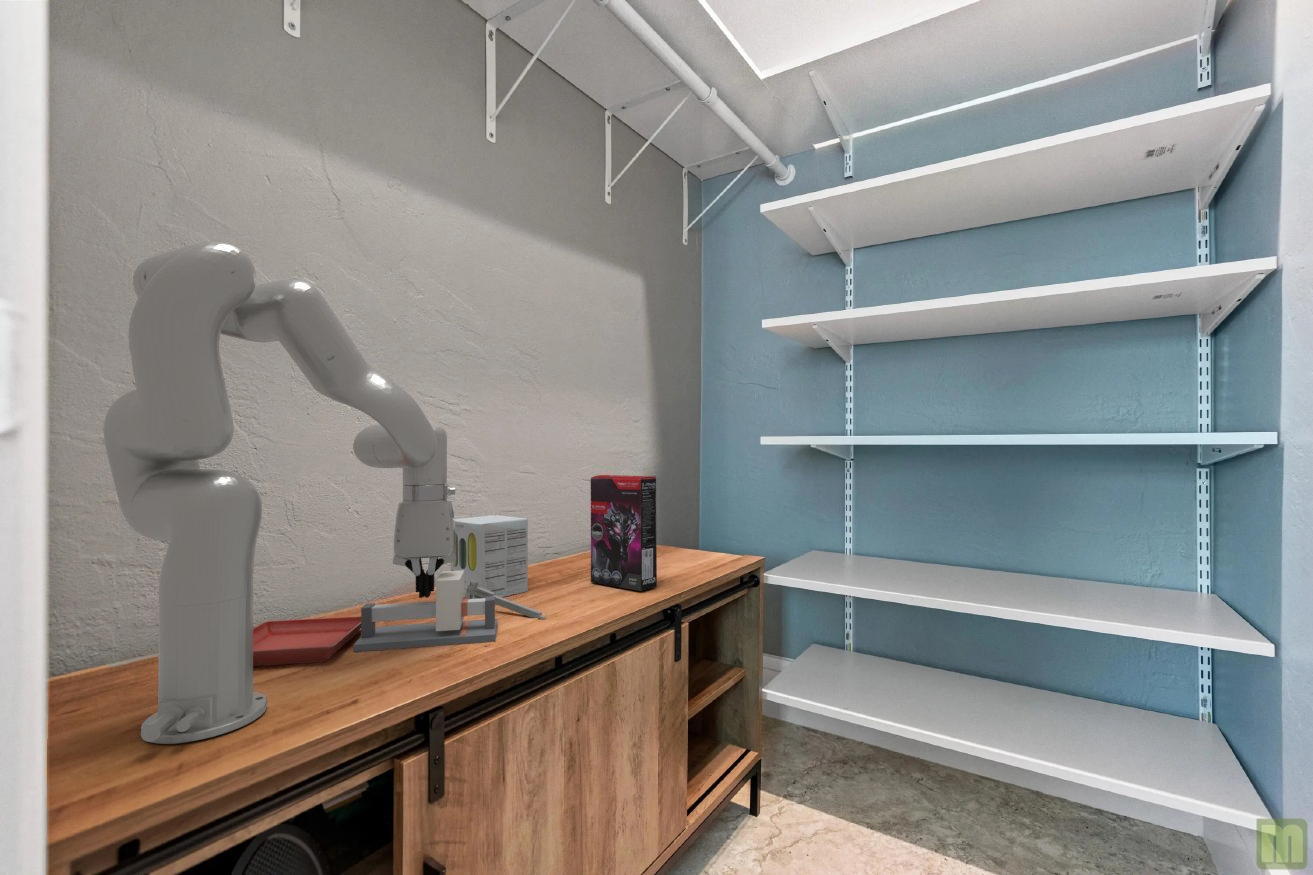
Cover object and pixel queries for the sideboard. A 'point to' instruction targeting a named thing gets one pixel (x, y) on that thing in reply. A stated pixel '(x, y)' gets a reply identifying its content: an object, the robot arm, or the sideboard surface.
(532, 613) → the caliper
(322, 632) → the plant saucer
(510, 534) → the supplement box
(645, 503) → the graphics card box
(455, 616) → the white sliding block
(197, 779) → the sideboard surface
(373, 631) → the gray slide rail base
